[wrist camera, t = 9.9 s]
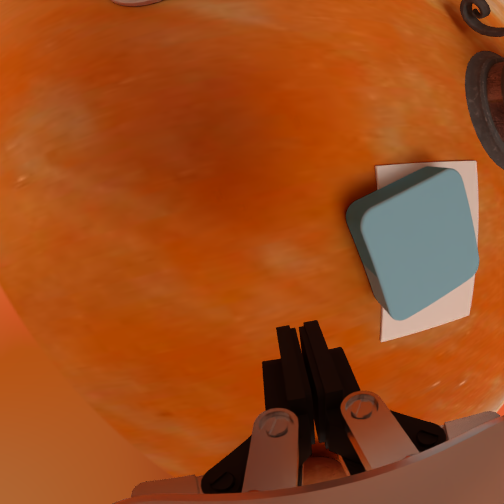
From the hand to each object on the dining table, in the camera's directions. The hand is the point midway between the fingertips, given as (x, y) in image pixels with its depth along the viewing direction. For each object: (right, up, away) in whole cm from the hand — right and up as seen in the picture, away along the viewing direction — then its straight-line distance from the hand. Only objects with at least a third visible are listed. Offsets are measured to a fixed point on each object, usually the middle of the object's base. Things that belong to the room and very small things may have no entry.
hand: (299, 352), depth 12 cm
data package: (+9, +2, +15) cm, 18 cm away
